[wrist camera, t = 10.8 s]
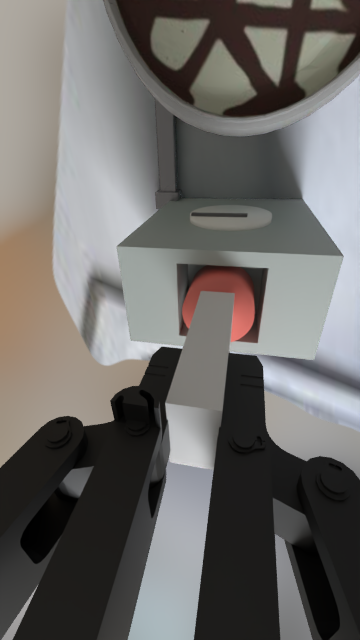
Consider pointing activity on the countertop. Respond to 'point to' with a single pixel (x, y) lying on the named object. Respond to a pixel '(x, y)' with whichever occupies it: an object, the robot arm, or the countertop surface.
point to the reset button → (229, 282)
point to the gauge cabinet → (233, 250)
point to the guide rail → (166, 156)
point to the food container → (240, 57)
